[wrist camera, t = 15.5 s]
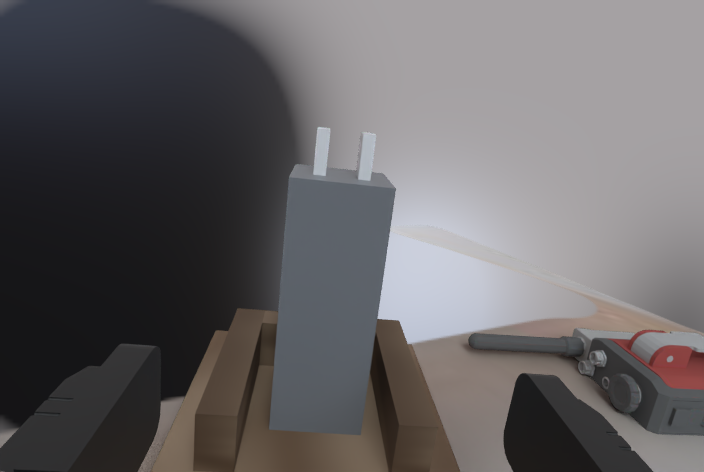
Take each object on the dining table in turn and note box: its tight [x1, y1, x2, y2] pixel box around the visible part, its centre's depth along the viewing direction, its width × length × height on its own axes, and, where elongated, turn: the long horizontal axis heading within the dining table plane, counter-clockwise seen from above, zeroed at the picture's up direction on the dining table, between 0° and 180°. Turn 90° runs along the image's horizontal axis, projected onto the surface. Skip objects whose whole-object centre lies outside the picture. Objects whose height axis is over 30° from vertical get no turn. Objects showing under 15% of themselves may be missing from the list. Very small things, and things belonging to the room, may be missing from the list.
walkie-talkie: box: [468, 328, 704, 435], centre depth 28 cm, size 9×4×20 cm
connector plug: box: [269, 127, 396, 435], centre depth 20 cm, size 4×4×13 cm
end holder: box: [151, 308, 460, 472], centre depth 22 cm, size 12×13×4 cm
